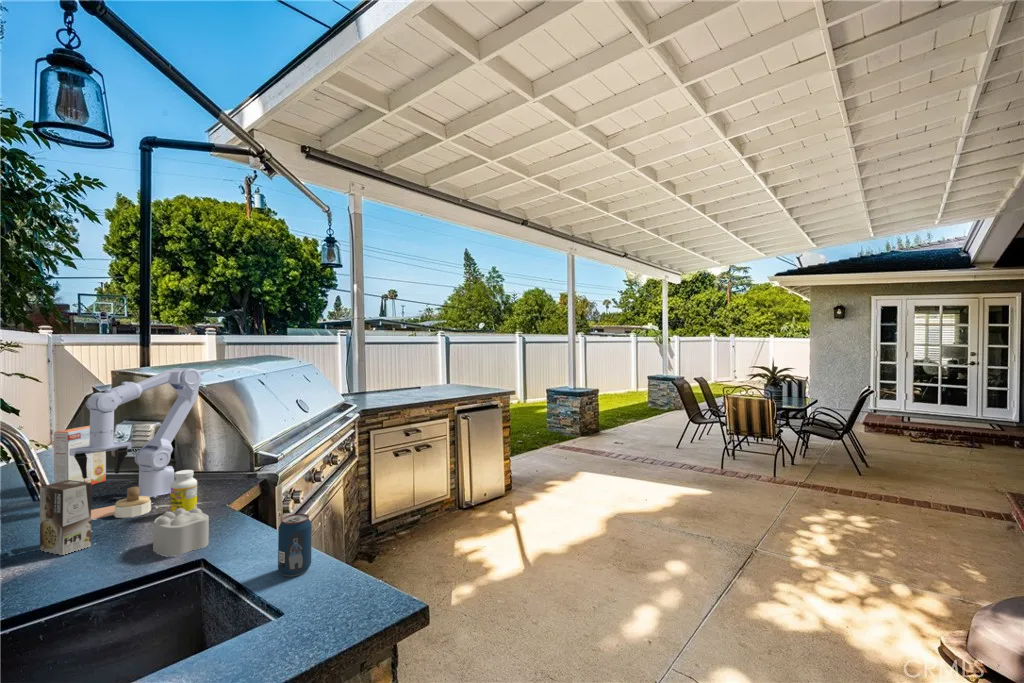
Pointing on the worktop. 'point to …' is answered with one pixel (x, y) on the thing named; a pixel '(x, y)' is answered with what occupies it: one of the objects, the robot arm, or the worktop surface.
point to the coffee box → (65, 517)
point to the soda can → (294, 544)
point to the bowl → (132, 510)
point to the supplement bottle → (183, 491)
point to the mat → (102, 512)
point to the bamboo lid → (132, 498)
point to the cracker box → (68, 465)
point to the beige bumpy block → (180, 532)
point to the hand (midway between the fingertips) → (100, 475)
